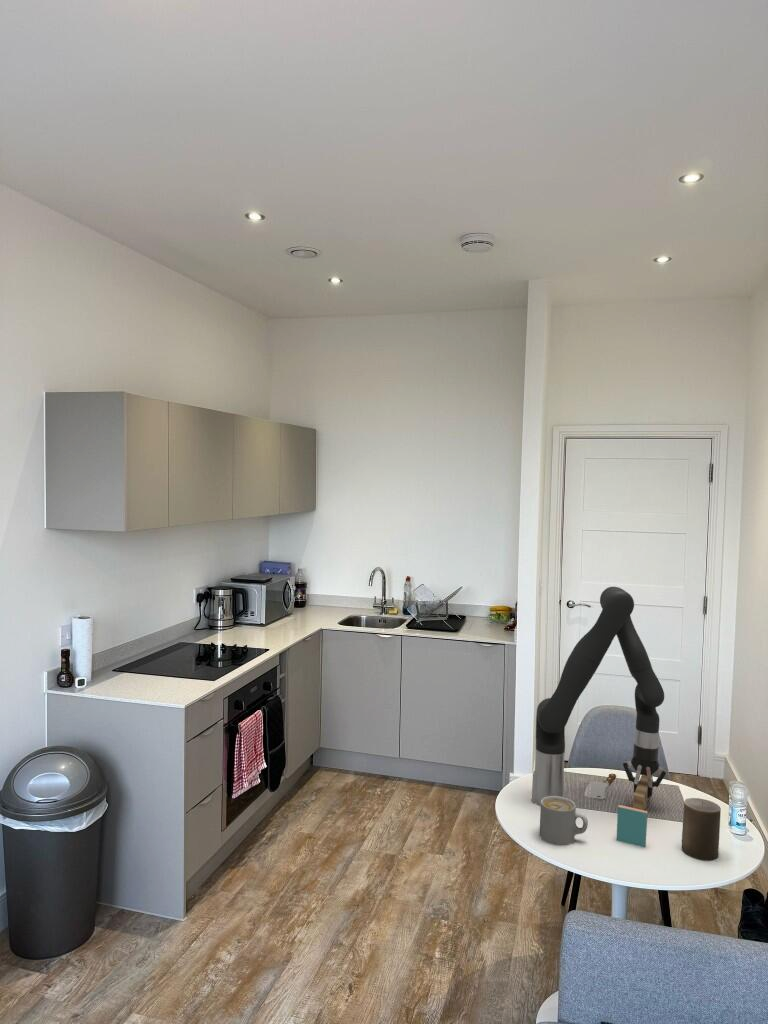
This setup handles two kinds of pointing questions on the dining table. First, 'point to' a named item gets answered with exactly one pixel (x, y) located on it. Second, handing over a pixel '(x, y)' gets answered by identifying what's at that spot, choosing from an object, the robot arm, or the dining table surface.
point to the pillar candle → (701, 828)
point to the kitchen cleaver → (601, 788)
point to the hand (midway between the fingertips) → (642, 795)
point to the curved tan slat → (641, 794)
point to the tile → (632, 825)
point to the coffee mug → (560, 820)
